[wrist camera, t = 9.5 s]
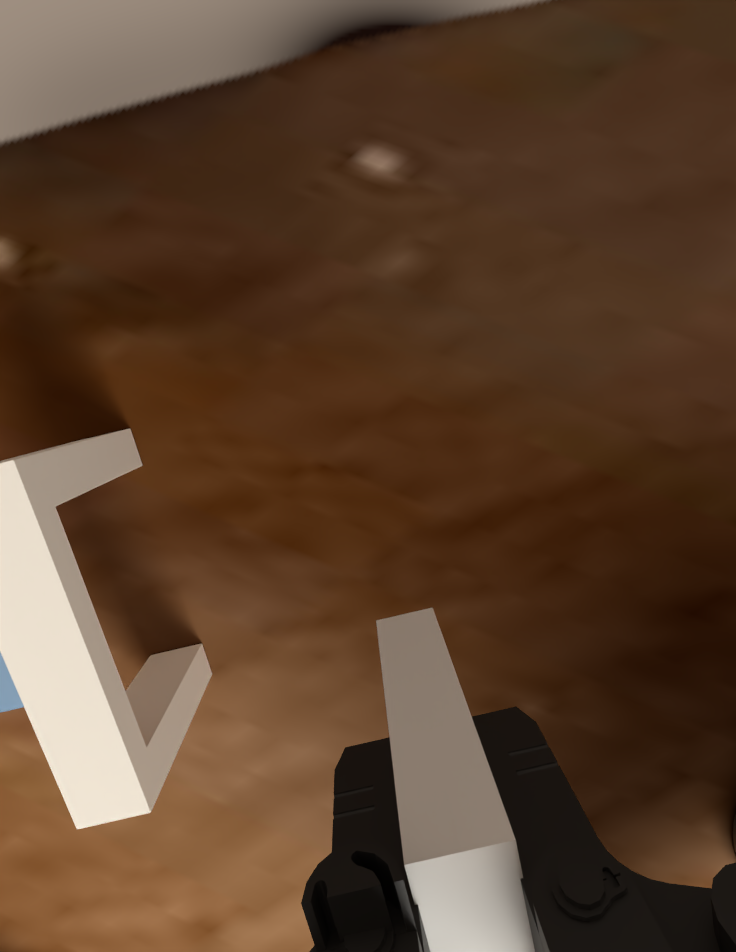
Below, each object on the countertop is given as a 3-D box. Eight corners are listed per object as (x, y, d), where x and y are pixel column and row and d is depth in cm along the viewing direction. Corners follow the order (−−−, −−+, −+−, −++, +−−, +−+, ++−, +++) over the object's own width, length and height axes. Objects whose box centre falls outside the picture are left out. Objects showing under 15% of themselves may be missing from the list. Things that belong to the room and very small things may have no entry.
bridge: (130, 428, 26) (13, 459, 17) (212, 673, 29) (150, 812, 20) (73, 441, 26) (-74, 480, 17) (161, 685, 29) (77, 829, 20)
